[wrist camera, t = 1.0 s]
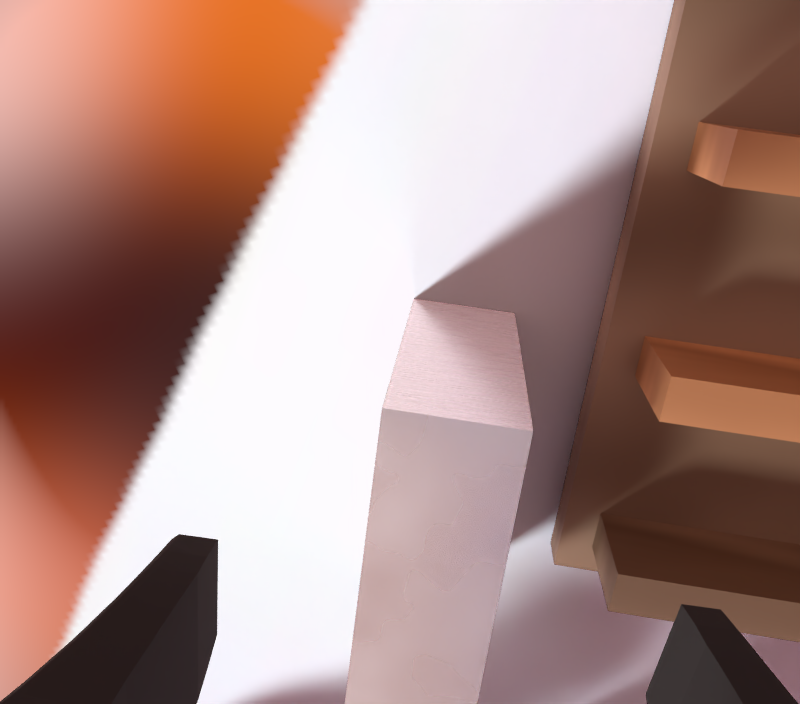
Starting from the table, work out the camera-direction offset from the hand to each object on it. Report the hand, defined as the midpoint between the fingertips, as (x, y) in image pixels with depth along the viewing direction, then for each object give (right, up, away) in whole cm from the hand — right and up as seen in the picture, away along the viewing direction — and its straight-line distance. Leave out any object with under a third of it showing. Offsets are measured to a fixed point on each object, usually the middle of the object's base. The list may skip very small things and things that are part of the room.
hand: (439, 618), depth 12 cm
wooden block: (+1, +1, +12) cm, 12 cm away
